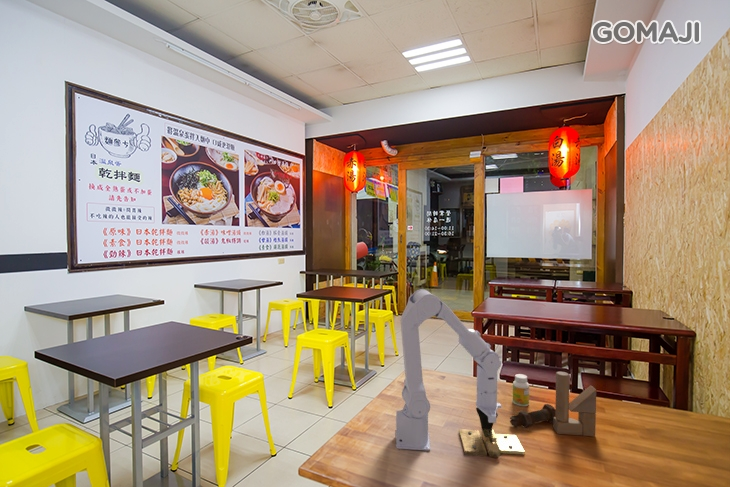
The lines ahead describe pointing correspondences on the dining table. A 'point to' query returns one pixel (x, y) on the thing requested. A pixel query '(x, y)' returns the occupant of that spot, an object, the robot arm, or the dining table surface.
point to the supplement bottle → (521, 390)
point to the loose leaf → (504, 442)
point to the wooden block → (574, 409)
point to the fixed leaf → (478, 444)
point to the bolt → (533, 416)
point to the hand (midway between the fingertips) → (486, 434)
